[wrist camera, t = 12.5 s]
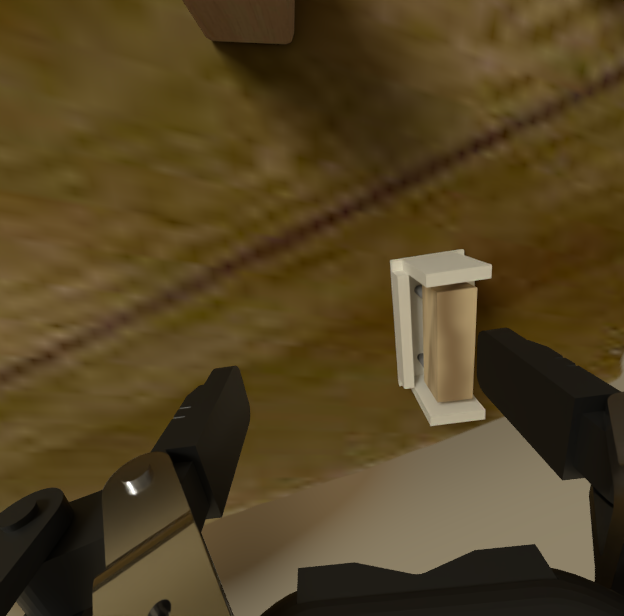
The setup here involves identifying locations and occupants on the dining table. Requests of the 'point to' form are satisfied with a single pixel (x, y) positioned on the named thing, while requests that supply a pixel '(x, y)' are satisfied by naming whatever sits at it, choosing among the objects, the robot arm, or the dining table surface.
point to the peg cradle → (410, 325)
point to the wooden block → (245, 20)
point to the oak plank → (449, 340)
